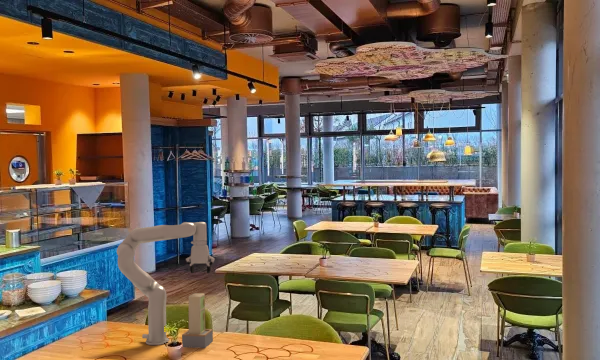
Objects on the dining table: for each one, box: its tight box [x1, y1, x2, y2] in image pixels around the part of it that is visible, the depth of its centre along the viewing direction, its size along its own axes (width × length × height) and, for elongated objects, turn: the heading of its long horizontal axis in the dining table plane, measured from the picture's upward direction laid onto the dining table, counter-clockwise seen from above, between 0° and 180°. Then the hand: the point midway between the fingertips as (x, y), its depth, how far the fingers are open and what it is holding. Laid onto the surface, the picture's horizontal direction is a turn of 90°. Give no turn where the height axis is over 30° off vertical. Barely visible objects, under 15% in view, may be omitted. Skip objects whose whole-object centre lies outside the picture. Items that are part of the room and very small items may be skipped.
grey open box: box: [181, 328, 214, 349], centre depth 283 cm, size 13×12×7 cm
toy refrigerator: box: [188, 292, 206, 334], centre depth 283 cm, size 8×7×21 cm
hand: (200, 272), depth 300 cm, fingers open, 9 cm apart
